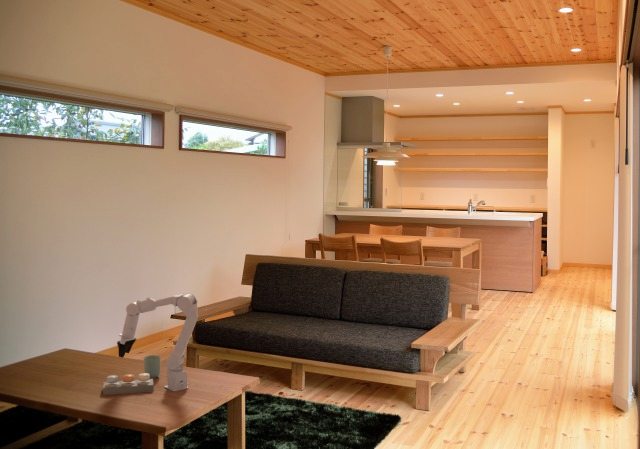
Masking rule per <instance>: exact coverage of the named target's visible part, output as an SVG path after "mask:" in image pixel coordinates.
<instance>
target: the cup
mask: <svg viewBox="0 0 640 449" xmlns="http://www.w3.org/2000/svg"><path fill="white" fill-rule="evenodd" d="M161 360H162V358H161V356H160V355H153V354H152V355H147V356H146V355H145V356H144V358H143V369H144V370H143V372H144V373H148V374H150V379H157V378H159V376H160V375H161V369H162V366H161V364H162V363H161V362H162V361H161ZM156 377H157V378H156Z"/></svg>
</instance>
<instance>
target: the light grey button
mask: <svg viewBox="0 0 640 449" xmlns="http://www.w3.org/2000/svg"><path fill="white" fill-rule="evenodd" d="M118 381H119V375H114V374H112V375H108V376H107V377H106V382H107V383H110V384H112V383H117V382H118Z"/></svg>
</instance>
